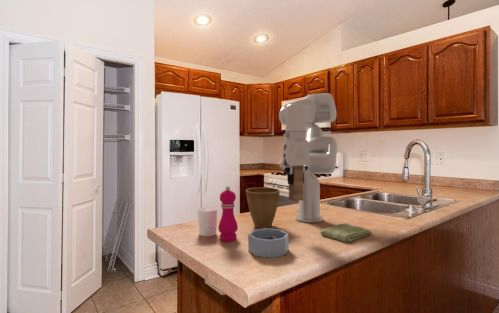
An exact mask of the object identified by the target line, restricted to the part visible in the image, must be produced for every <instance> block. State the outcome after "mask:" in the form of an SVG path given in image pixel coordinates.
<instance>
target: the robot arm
mask: <svg viewBox="0 0 499 313" xmlns="http://www.w3.org/2000/svg"><path fill="white" fill-rule="evenodd" d="M335 103H336V102H335V99H334V97H333V95H332V94H331V93H328V92H323V93H321V92H320V93H310V94H307V95H306V96H305V97H303V98H302V99H299V100H295V101H293V102H289V103H286V104H284V105H283V106H282V107H281V108H280V110H279V111H278V112H279V113H278V119H279V122H280V124H282V125H283V126H285V133H283V135H282V136H283V138H285V140H283V147H282V155H281V156H282V157H281V158H282V160H281V162H280V164H279V168H281V169H282V170H283V171H284V172H285V174H287V180H286V181H287V185H289V184H290V185H293V184H294V174H292V173H293V166H303V200H300V201H298V206H299V208H298V209H296V210H295V211H296V212H297V213H298V215H296V216H295V219H296V220H297V221H298V222H302V223H309V224H310V223H313V224H315V223H321V222H323V220H324V217H323V216H322V215H321V212H320V211H321V209H320V204H321V198H320V197H321V196H320V195H321V187H320V186H321V184H320V180H319V179H318V177H317V176H316V175H315V174H324V175H325V174H333V173H334V171H336V165H337V164H336V163H337V162H336V161H337V151H338V144H337V140H336V138H335V137H333V136H324V132H323V130H322V128H320V126H318V125H317V124H319V123H320V124H323V123H333V122H335V120H336V119H337V113H338V112H337V107H336V104H335Z"/></svg>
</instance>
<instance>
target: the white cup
mask: <svg viewBox="0 0 499 313" xmlns="http://www.w3.org/2000/svg"><path fill="white" fill-rule="evenodd" d="M197 223H198V224H197V225H198V235H199V236H202V237H210V236H211V237H212V236H215V235H217V227H218V225H217V224H218V208H217V207H213V206H205V207H199V208H197Z"/></svg>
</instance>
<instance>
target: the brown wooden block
mask: <svg viewBox="0 0 499 313" xmlns="http://www.w3.org/2000/svg"><path fill="white" fill-rule="evenodd" d="M292 174H294V184H293V185H290V184H288V200H289V201H290V200H291V201H294V202H299V201H300V200H303V166H293V173H292Z"/></svg>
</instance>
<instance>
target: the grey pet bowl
mask: <svg viewBox="0 0 499 313" xmlns="http://www.w3.org/2000/svg"><path fill="white" fill-rule="evenodd" d="M247 235H248V240H247V241H248V252H249V251H250V253H251V254H252V253H253V254H254V255H253V254H252V255H253V256H254V257H258V256H261V257H260V258H266V257H269V258H268V259H273V257H274V258H279V257H284V256H283V255H285V254H286V255H287V253H288V252H287V251H289V247H290V244H289V236H290V235H289V233H288V232H286V231H284V230H283V229H279V228H277V229H275V228H258V229H253V230H252V231H251V232H250V233H248V234H247ZM286 255H285V256H286ZM278 256H279V257H278Z"/></svg>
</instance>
